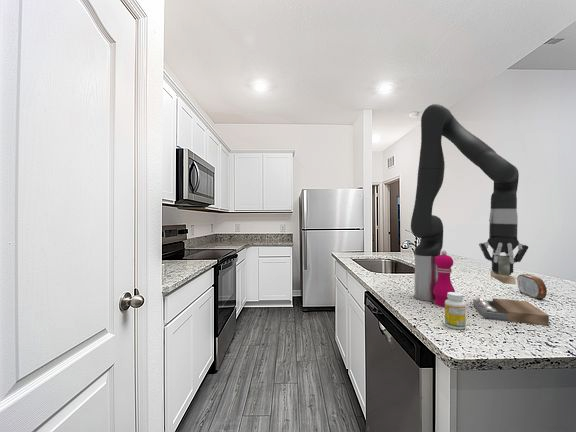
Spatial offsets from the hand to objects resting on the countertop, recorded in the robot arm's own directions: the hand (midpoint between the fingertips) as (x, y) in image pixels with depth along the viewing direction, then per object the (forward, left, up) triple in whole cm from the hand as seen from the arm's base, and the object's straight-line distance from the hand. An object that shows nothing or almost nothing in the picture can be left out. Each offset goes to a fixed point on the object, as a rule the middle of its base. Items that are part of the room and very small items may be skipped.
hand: (502, 273), depth 96 cm
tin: (+18, +31, -14) cm, 38 cm away
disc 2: (-4, 0, -11) cm, 11 cm away
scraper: (0, 0, -2) cm, 2 cm away
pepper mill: (-17, +4, -14) cm, 22 cm away
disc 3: (-4, -5, -11) cm, 12 cm away
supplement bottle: (-17, -19, -14) cm, 29 cm away
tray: (-4, 0, -13) cm, 14 cm away
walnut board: (+4, 0, -13) cm, 14 cm away
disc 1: (-4, +4, -11) cm, 12 cm away
